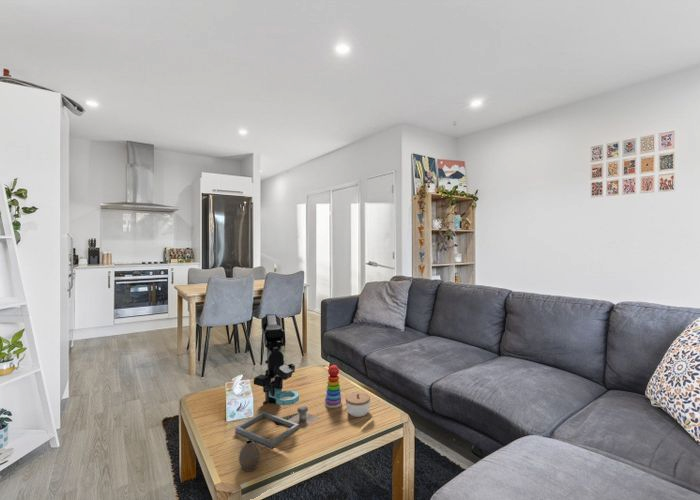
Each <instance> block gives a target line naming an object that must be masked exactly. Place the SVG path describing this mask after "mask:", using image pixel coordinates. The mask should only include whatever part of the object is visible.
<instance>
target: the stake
mask: <svg viewBox="0 0 700 500" xmlns="http://www.w3.org/2000/svg"><path fill="white" fill-rule="evenodd" d="M308 411H309V407H308V406H303V405H302V406H299V407H298V408H297V414H295V415H294V416H292V417H290V418H289V419H288V420H289V421H291V422H294V423H297V424H299V427H300V428H303V429H305V428H306V427H308V426H310V425H311V424H312V423H314V422H315V421H317V420H319V418H320V416H318V415H314V414H311V413H308Z"/></svg>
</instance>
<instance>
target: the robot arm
mask: <svg viewBox="0 0 700 500" xmlns="http://www.w3.org/2000/svg"><path fill="white" fill-rule="evenodd" d="M260 320H261V322H260V323H261V325H260V326H261V327H260V328H261V330H262V332H263V335H264V348H266V360H265V361H264V363H265V364H266V365H267V368H266V370H265V373H264V374H262V373H261V374H259V375H257V376H255V377H253V385H254V386H255V385H256V386H259V387H262V392H263V393H264V395H265V396H264V397H265V398H264V399H265V400H264V401H262V404H263V405H267V404H277V403H276V399H275V398H272V397H269V392H270V394H271V396H274V393H275V388H277V389H281V390H282V389H283V385H284V384H283V382H284V381H286V380H288V379H290V378H292V377H293V376H292V375H293V373H295V371H296V367H295V366H296V365H295V364H294V362H291V363H289V364H288V363H285V360H284V353H283V351H282V350H283V349H282V347H284V346H285V344H286V333H285V331H284V329H282V327H281V325H280V317H279V316H278V315H277V313H275V312H272V313H271V312H270V313H266V314H265V315H264V317H262V318H261V319H260ZM282 391H283V390H282Z"/></svg>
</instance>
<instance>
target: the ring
mask: <svg viewBox="0 0 700 500" xmlns="http://www.w3.org/2000/svg"><path fill="white" fill-rule="evenodd" d="M269 397H272V398H275V399H276V403H275V404H276V405H279V406H284V407H285V406H292V405H294V404H297V402H299V401H300V395H299V392H298V391H295V390H292V389H290V390H281V389H277V388H275V393H274V396H271V394H270V392H269Z"/></svg>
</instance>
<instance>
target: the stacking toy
mask: <svg viewBox="0 0 700 500" xmlns="http://www.w3.org/2000/svg"><path fill="white" fill-rule="evenodd" d="M327 369H328V370H327V373H328V378H327V382H326V384H327V385H326V388H327V389H326V394H325V399H324V407H326V408H328V409H330V408H331V409H336V408H340V407H341V406H342V405H343V401H342V393H341V385H340V381H339V380H340V379H339V378H340V377H339V373H340V368H339V367H338V366H337V365H336V364H332V365H330V366H329V367H328V368H327Z"/></svg>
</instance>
